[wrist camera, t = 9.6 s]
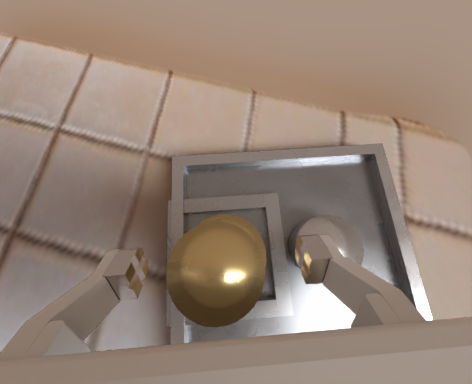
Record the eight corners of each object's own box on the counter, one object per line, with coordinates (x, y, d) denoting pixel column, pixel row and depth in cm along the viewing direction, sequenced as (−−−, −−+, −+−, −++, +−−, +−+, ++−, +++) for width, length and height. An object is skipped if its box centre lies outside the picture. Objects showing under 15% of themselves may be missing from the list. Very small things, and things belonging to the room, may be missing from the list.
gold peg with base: (192, 293, 16) (127, 377, 6) (191, 220, 17) (137, 196, 8) (264, 287, 16) (311, 360, 6) (257, 216, 18) (286, 186, 8)
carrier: (173, 373, 16) (156, 412, 12) (174, 165, 20) (162, 149, 16) (418, 350, 16) (469, 380, 13) (366, 153, 21) (394, 135, 17)
